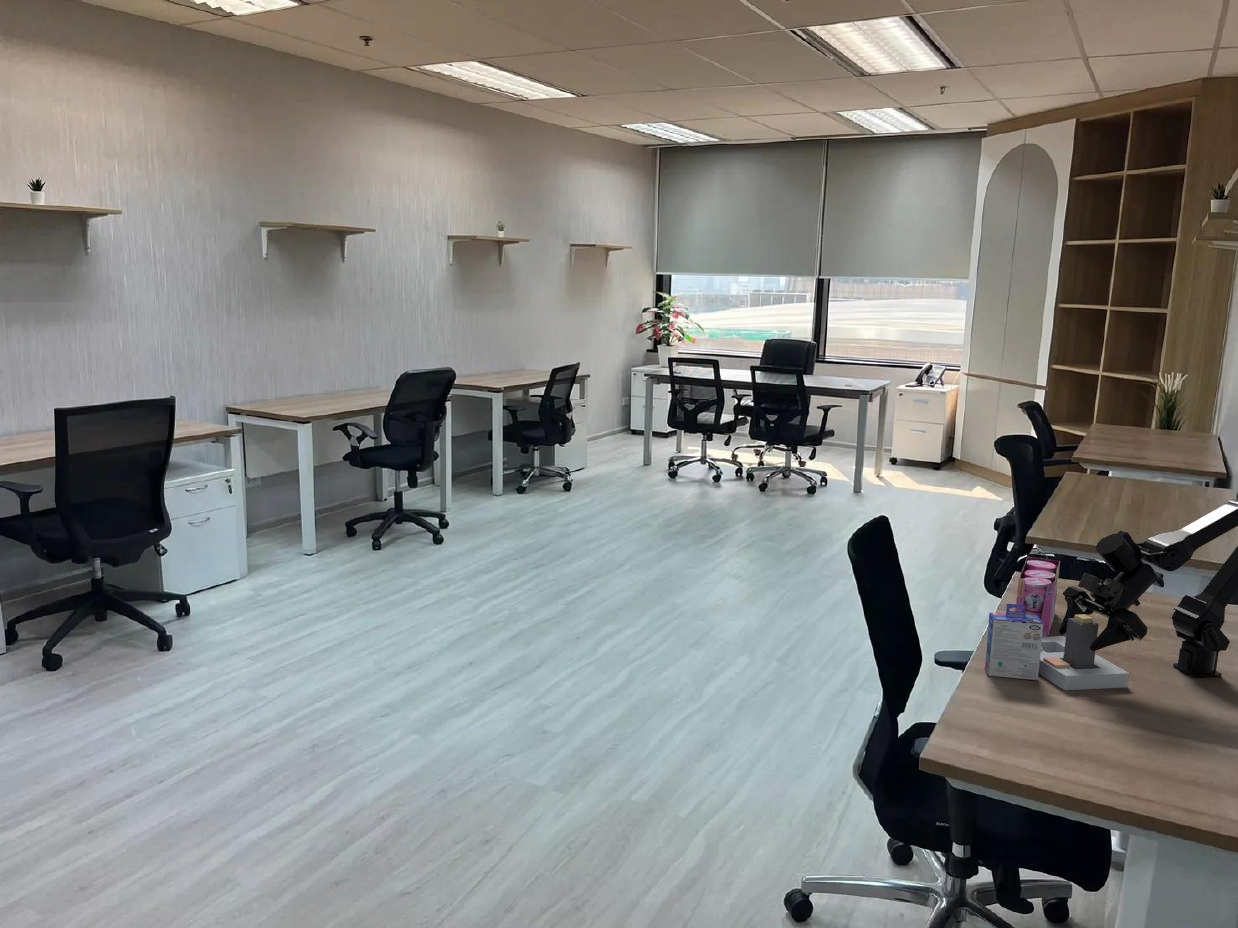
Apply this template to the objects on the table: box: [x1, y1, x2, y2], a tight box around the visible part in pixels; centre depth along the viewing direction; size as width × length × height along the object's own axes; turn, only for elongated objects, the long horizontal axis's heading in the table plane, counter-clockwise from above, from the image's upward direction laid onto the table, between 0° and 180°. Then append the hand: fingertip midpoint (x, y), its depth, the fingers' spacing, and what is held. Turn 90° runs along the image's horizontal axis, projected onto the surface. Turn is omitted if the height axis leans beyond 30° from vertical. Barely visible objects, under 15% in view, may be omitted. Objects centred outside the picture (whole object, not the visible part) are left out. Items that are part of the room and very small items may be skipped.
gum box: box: [1014, 556, 1061, 637], centre depth 221 cm, size 24×8×14 cm, turn 152°
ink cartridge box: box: [984, 603, 1044, 681], centre depth 190 cm, size 10×6×14 cm, turn 79°
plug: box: [1063, 614, 1100, 669], centre depth 189 cm, size 4×4×13 cm
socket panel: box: [1038, 635, 1130, 691], centre depth 194 cm, size 14×21×4 cm, turn 9°
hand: (1075, 641), depth 189 cm, fingers open, 9 cm apart
